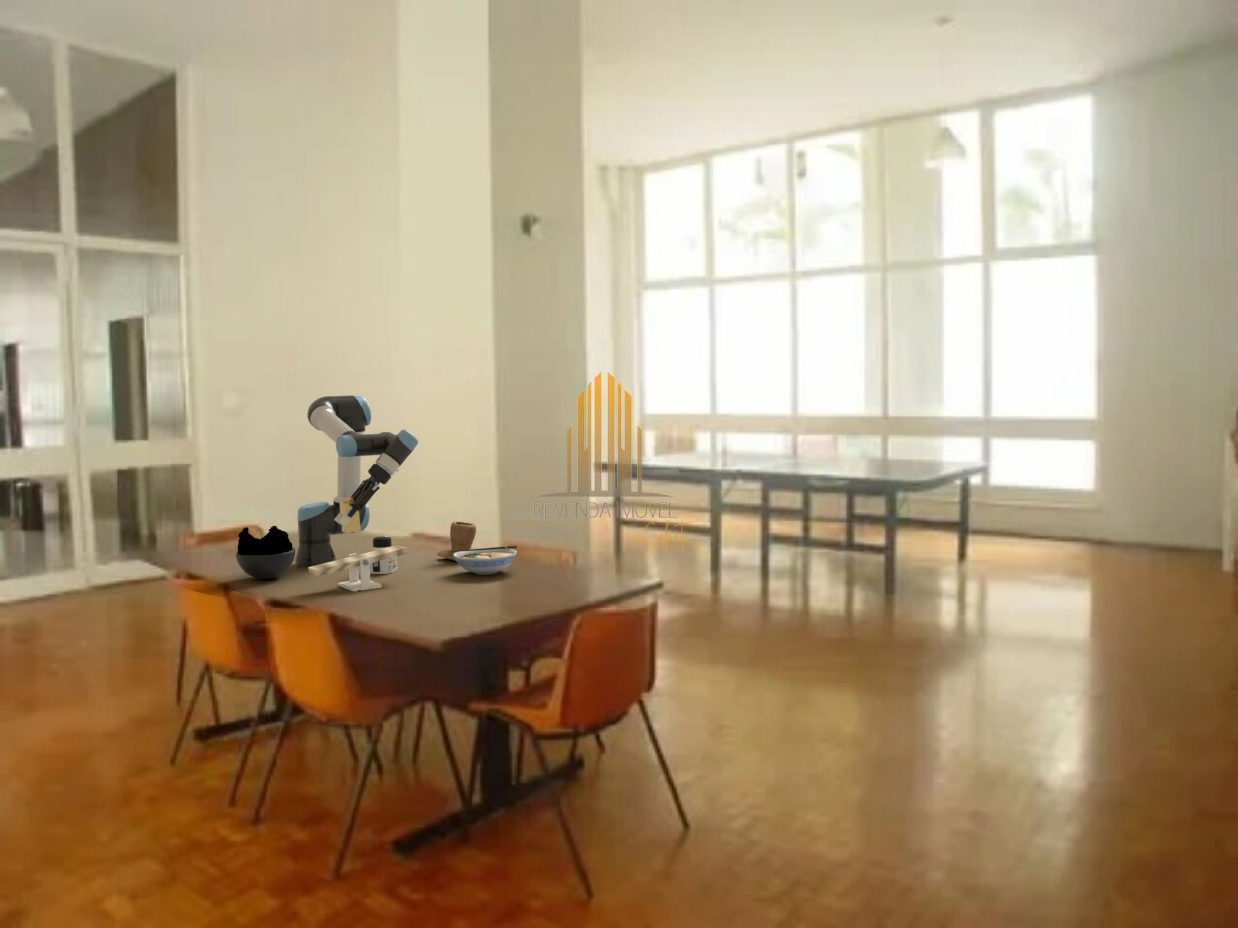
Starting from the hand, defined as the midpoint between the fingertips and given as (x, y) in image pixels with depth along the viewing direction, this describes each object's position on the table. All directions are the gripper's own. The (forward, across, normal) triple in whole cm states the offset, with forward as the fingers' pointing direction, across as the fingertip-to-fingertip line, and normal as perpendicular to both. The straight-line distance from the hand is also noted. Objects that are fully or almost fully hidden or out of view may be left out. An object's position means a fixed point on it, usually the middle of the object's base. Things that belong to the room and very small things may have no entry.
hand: (339, 523), depth 336 cm
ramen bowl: (-17, -5, -52) cm, 55 cm away
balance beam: (+6, -2, -13) cm, 14 cm away
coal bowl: (+29, +31, -1) cm, 43 cm away
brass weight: (0, 0, -5) cm, 5 cm away
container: (+3, +20, -30) cm, 36 cm away
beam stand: (+13, -2, -19) cm, 23 cm away
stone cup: (-19, +28, -54) cm, 63 cm away
